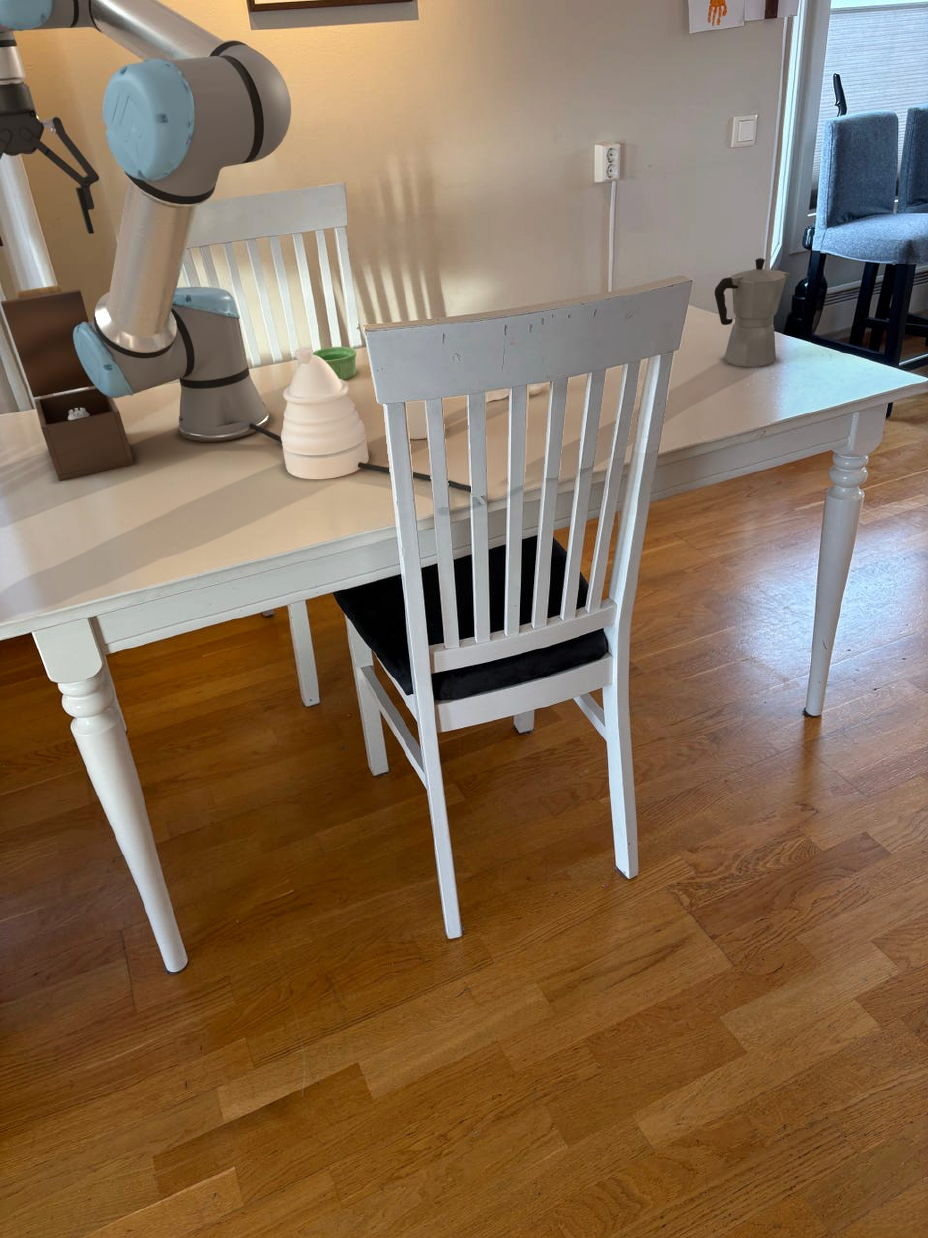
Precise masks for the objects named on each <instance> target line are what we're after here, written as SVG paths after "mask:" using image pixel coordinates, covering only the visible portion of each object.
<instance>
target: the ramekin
mask: <svg viewBox="0 0 928 1238" xmlns="http://www.w3.org/2000/svg"><path fill="white" fill-rule="evenodd" d="M313 355H316V356H318V357H320V358H322V359H323V360H324V361H325V362H326V363H327V364H328V365H329V366H330V367H331V368H332V370H333V371H334V372H335V374H336V375H337V377H338V378H339V379H342V380H344V381H346V380H349V379H351V378H352V377H354V376H355V375H356V373H357V363H356V362H357V361H356V356H357V351H356V350H355V349H354V348H352V347H347V346H330V347H325V348H321V349H317V350H315V351H313Z"/></svg>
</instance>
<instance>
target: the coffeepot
mask: <svg viewBox="0 0 928 1238" xmlns="http://www.w3.org/2000/svg"><path fill="white" fill-rule="evenodd" d="M765 262H766V259H765V258H764V257H763V258H762V257H758V258H756V259H755V268H751V269H747V270H743V271H740V272H737V273H734V274H731V276H729V277H724V278H722V279H721V280H720V281H719V282H718V284H717V285H716V286H715V289H714V296H715V302H716V306H717V311H718V316H719V320H720V324H721V325H722V326H728V325H731V324H732V327H731V329H730V334H729V339H728V342H727V346H726V350H725V354H724V359H725V361H726V363H728V364H730V365H732V366H736V367H743V368H759V367H765V366H769V365H771V364H773V363H774V362H775V361H776V360H777V358H776V357H777V356H776V354H777V352H776V335H775V325H774V316H775V315H777V313H778V310H779V307H780V302H781V298H782V294H783V291H784V287H785V283H786V280H787V278H788V277H789V276H791V273H790V272H787V271H782V270H773V269H767V268H764V266H765ZM727 289H731V290H732V291H731V292H732V308H733V309H732V310H733V314H734V315H735V316H734V317H735V318H734V320H733V318H728V317H727V315H728V309H727V306H726V296H725V291H726V290H727ZM733 321H734V323H733Z"/></svg>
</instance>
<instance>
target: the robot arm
mask: <svg viewBox="0 0 928 1238" xmlns="http://www.w3.org/2000/svg"><path fill="white" fill-rule="evenodd" d="M78 28H79V29H80V28H91V29H92V28H93V29H95V30H96V31H98V32H99V33H101V34H103V35H104V36H106V37H107V38H109V40H111V41H113V42H115V43H116V44H117V45H119V46H121V47H123V48H124V49H125V50H127V51H128V52H130V53H131V54H133V55H134V56H136V57H137V58H139V59H140V60H141V61H140V62H134V63H129V64H125V65H124V66H121V67H120V68H119V69H118V70H116V71H115V72H114V74H112V76H111V77H110V79H109V81H108V84H107V85H106V88H105V90H104V96H103V100H102V101H103V102H102V123H103V124H104V125H105V126H106V131H105V138H106V141H107V145H108V147H109V149H110V152H111V154H112V156H113V158H114V160H115V162H116V163H117V165H118V166H119V167H120V168H121V171H122V173H123V174H124V176H125V177H126V179H127V185H126V190H125V191H126V192H125V199H124V203H123V204H124V205H123V210H122V216H121V222H120V228H119V232H118V233H119V234H118V238H117V239H118V240H117V246H116V251H115V257H114V264H113V269H112V275H111V281H110V286H109V291H108V292H106V293H105V294H103V295H102V296H101V297H100V298H99V299H98V301H97V302H96V304H95V308H94V315H93V319H92V320H91V321H89V322H88V323H86V322H82V324H80V325H78V326H76V327H75V329H74V332H73V339H74V344H75V348H76V351H77V354H78V357H79V359H80V361H81V364H82V366H83V368H84V369H85V371H86V373H87V375H88V376H89V378H90V379H91V381H92V382H93V384H94V385H95V386H94V387H97V388H98V390H99V391H100V392H102V393H103V394H104V395H106V396H108V397H110V398H113V399H119V398H123V397H126V396H130V397H132V396H134V395H135V394H138V393H141V392H144V391H147V390H150V389H153V388H157V387H159V386H162V385H165V384H168V383H170V382H174V381H177V380H178V381H179V385H180V399H179V415H178V426H179V431H180V435H181V437H183V438H185V439H187V440H189V441H194V442H202V443H215V442H216V443H217V442H226V441H231V440H236V439H241V438H244V437H247V436H251V435H253V434H255V433H260V434H262V435H264V436H266V437H268V438H271V439H272V440H274V441H276V442H278V443H281V444H282V440H281V435H278V434H276V433H274V432H272V431H270V430H268V429H265V427H267V425H268V424H269V423H270V415H269V411H268V407H267V405H266V404H265V402H264V401H263V399H262V397H261V395H260V393H259V391H258V388H257V387H256V385H255V383H254V381H253V380H252V378H251V374H250V368H249V364H248V358H247V353H246V352H247V351H246V348H245V342H244V337H243V332H242V326H241V322H240V318H241V317H240V315H239V312H238V311H239V310H238V307H237V304H236V301H235V298H234V296H233V294H232V293H231V292H229V291H228V290H226V289H222V288H219V287H210V286H181V287H178V284H179V280H180V277H181V272H182V268H183V264H184V261H185V256H186V253H187V249H188V245H189V241H190V238H191V237H190V236H191V234H192V230H193V224H194V221H195V218H196V217H195V216H196V214H197V209H198V206H200V205H201V204H202V205H203V204H204V203H205V202H207V201H209V199H211V198H212V196H213V194H214V192H215V190H216V186H217V183H218V180H219V176H220V172H221V170H222V169H223V168H227V167H232V166H239V165H244V164H250V163H255V162H257V161H260V160H263V159H265V158H267V157H268V156H270V155H272V153H273V152H275V151H276V150H277V149H278V147H279V146H281V144H282V142H283V141H284V138H285V137H286V135H287V134H288V130H289V127H290V124H291V118H292V101H291V97H290V92H289V89H288V85H287V82H286V80H285V79H284V77H283V75H282V74H281V71H279V69H278V67H276V65H275V64H274V63H273V62H272V61H271V60H270V59H269V58H267V57H266V56H265V55H264V54H263V53H261V52H259V51H258V50H256V49H254V48H253V47H251V46H250V45H249V44H246V43H245V42H243V41H240V40H236V39H229V40H223V39H222V38H220V37H218V36H216V35H215V34H213V33H211V32H210V31H208V30H207V29H205V28H203V27H202V26H200V25H198V24H197V23H195V22H193V21H192V20H190V19H188V18H187V17H185V15H182V14H180V13H179V12H177V11H175V10H174V9H173V8H171V7H169V6H168V5H166V4H164V3H163V2H161V1H159V0H0V160H1V159H2V157H3V155H4V154H5V155H6V156H10V157H16V156H19V155H33V154H34V153H35V152H36V151H37V150H38V151H39V152H40V153H41V154H43V155H44V156H45V157H46V158H47V159H49V160H50V162H52V163H53V164H55V165H56V166H57V167H58V168H59V169H61V170H62V171H63V172H64V173H65V174H67V175H68V176H69V177H70V178H71V179H72V180H74V181H75V183H77V184H78V185H79V187H75V191H76V195H77V199H78V202H79V206H80V211H81V213H82V217H83V221H84V225H85V228H86V231H87V233H88V234H89V235H92V234H95V231H94V227H93V224H92V220H91V216H90V212H89V211H90V210H94V209H95V204H94V199H93V195H92V191H91V186H92V185H93V184H94V183H96V182H99V181H100V176H99V174H98V173H97V171H96V170H95V169H94V167H93V166H92V165H91V164H90V163H89V161H88V160H87V158H86V157H85V156H84V155H83V153H82V152H81V151H80V150H79V148H78V147H77V146H76V144H75V143H74V142H73V140H72V139H71V138H70V136H69V135H68V134H67V132H66V130H65V127H64V125H63V122H62V120H61V118H60V117H58V116H52V117H51V118H48V119H43V120H41V119H40V118H39V116H38V114H37V113H38V112H37V111H36V107H35V103H34V100H33V96H32V93H31V89H30V85H28V84H27V83H25V81H24V79H26V78H27V75H26V71H25V68H24V65H23V64H24V63H23V61H22V58H21V54H20V51H19V47H18V43H17V41H16V36H15V34H14V32H23V31H36V30H37V31H38V30H39V31H40V30H54V29H56V30H57V29H78ZM45 129H47V130H48V131H49V132H50V134H52V135H57V138H58V139H59V140H60V142H61V143H62V144H63V146H64V147H65V148H66V150H67V151H68V152H69V153H70V155H71V156H72V157H73V159H74V160H75V161H76V162H77V163H78V165H79V167H80V168H81V169H82V170H83V171H84V173H85V174H86V175H84V176H82V175H81V174H80V173H79V172H78V171H77V170H75V169H74V168H73V167H72V166H71V165H70V164H68V163H67V162H66V160H65V161H64V159H62V158H61V156H59V155H57V153H56V152H54V151H53V150H52V149H51V148H49V146H47V145H46V144H45V143H43V142H42V141H41V139H42V137H43V134H44V131H45ZM0 247H4V243H3V239H2V237H1V235H0ZM358 467H359V468H361V469H364V470H368V471H369V470H370V471H374V472H380V473H381V472H382V473H386V474H390V473H389V468H390V467H388V466H383V465H376V464H371V463H361V462H360V463H358ZM412 472H413V477H412V478H413V479H419V480H423V481H428V482H432V481H431V479H430V474H426V473H421V472H416V471H412ZM448 480H449V481H448V483H449V486H448V487H449V488H453V489H456V490H460V491H465V492H468V493H470V494H471V486H472V485H469V484H463V483H460V482H456V481H453V480H451V479H448Z"/></svg>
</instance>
